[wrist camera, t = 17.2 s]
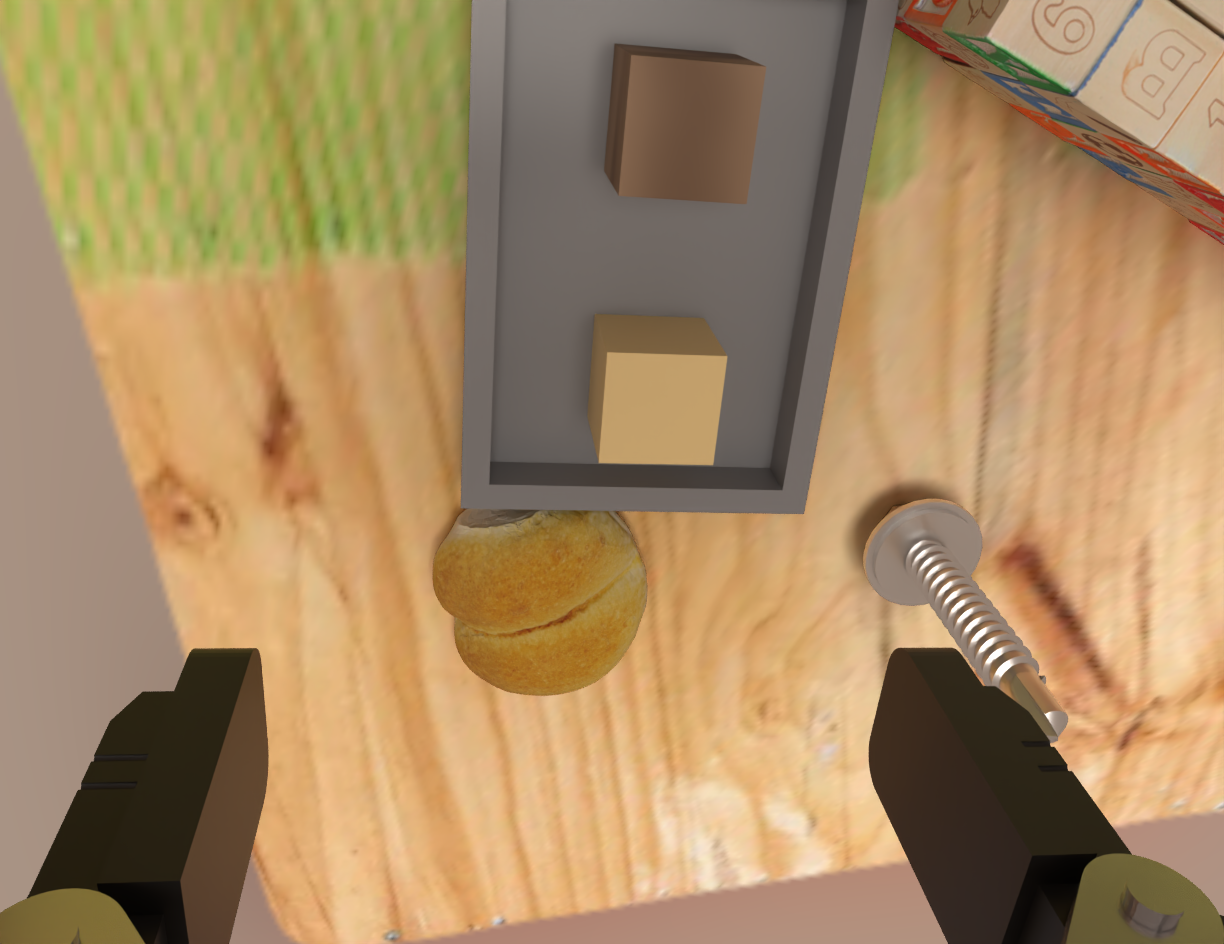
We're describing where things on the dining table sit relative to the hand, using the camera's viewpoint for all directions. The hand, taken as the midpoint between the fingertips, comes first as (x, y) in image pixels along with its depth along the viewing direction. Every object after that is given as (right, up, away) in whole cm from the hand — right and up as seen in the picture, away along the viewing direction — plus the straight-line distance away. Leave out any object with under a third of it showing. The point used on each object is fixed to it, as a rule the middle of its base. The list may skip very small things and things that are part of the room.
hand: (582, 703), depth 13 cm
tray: (+2, +11, +24) cm, 26 cm away
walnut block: (+2, +15, +21) cm, 26 cm away
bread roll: (-3, -1, +30) cm, 30 cm away
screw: (+13, +1, +31) cm, 33 cm away
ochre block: (+2, +7, +25) cm, 26 cm away
